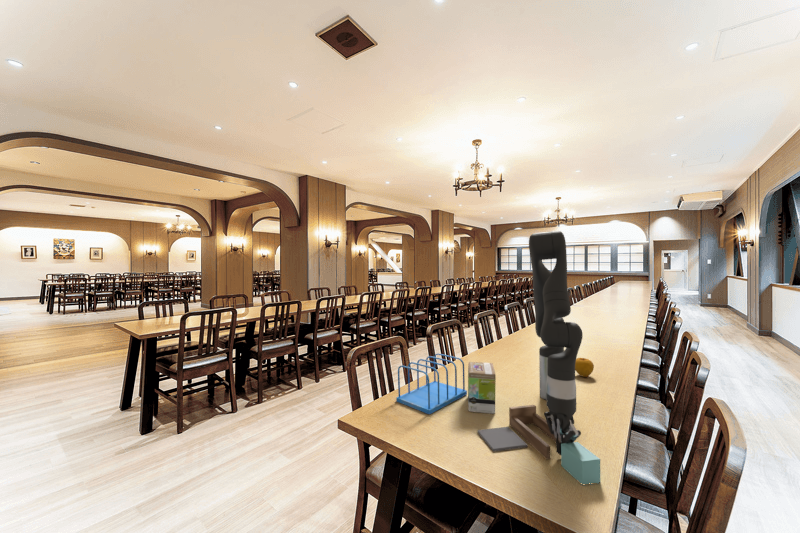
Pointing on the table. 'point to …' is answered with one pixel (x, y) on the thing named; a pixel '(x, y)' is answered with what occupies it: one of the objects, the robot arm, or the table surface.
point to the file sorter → (431, 389)
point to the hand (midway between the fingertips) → (561, 453)
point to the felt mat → (501, 439)
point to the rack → (527, 416)
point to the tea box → (481, 387)
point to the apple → (584, 367)
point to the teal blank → (580, 463)
